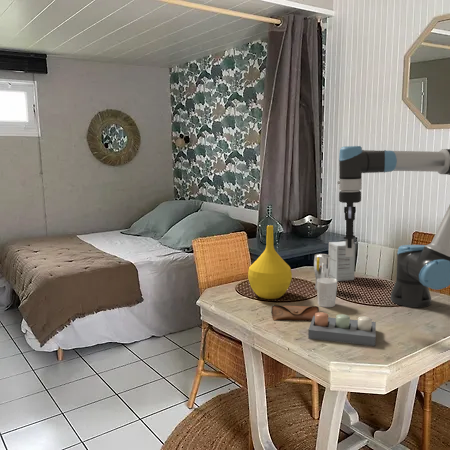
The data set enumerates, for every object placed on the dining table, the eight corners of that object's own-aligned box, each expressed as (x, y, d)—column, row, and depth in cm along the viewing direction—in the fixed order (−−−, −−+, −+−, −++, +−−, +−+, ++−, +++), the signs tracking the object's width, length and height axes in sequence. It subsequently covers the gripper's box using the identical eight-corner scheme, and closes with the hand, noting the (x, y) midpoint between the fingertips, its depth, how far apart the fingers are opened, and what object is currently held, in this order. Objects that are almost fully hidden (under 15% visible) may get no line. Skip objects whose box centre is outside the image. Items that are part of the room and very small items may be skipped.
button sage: (349, 326, 158) (350, 315, 157) (349, 331, 153) (349, 319, 153) (336, 324, 159) (336, 313, 158) (335, 329, 155) (335, 318, 154)
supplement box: (354, 280, 217) (356, 244, 214) (336, 281, 215) (337, 246, 212) (345, 274, 226) (346, 240, 224) (327, 276, 224) (328, 241, 221)
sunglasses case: (271, 321, 169) (271, 302, 171) (271, 324, 175) (271, 306, 178) (322, 321, 167) (321, 303, 170) (319, 324, 174) (318, 307, 176)
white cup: (336, 308, 181) (337, 283, 179) (316, 307, 182) (316, 282, 180) (336, 301, 188) (336, 278, 186) (316, 300, 190) (316, 277, 188)
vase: (300, 296, 195) (301, 226, 190) (266, 305, 185) (267, 231, 179) (272, 286, 210) (272, 220, 204) (239, 294, 199) (238, 225, 194)
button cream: (371, 328, 155) (371, 317, 155) (371, 333, 151) (371, 321, 151) (357, 327, 157) (358, 315, 156) (357, 332, 153) (357, 320, 152)
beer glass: (331, 287, 206) (332, 254, 204) (326, 292, 200) (327, 258, 198) (317, 285, 210) (317, 253, 207) (311, 289, 204) (311, 256, 201)
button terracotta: (328, 324, 160) (328, 312, 159) (327, 328, 156) (327, 317, 155) (315, 322, 161) (315, 311, 160) (314, 327, 157) (314, 316, 156)
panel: (375, 330, 159) (375, 321, 159) (375, 345, 147) (375, 337, 147) (313, 323, 166) (313, 315, 165) (308, 338, 154) (308, 329, 153)
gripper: (339, 188, 171) (339, 251, 175) (338, 192, 158) (338, 260, 162) (361, 188, 169) (360, 252, 173) (361, 192, 156) (360, 261, 160)
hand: (349, 256), depth 168 cm, fingers closed
